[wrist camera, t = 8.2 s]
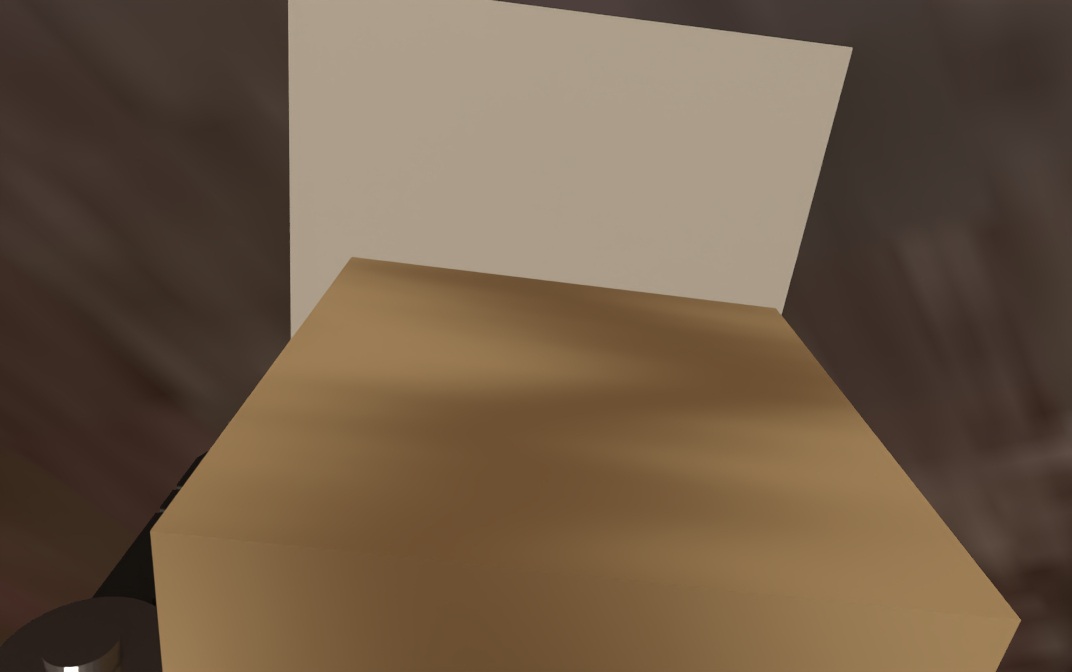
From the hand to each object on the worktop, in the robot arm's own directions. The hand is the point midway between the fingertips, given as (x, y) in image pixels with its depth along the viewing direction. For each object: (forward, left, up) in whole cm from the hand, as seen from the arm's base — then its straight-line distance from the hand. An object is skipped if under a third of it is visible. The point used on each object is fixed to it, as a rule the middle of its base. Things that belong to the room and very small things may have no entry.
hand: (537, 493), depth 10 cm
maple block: (0, 0, -1) cm, 1 cm away
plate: (0, 0, -13) cm, 13 cm away
